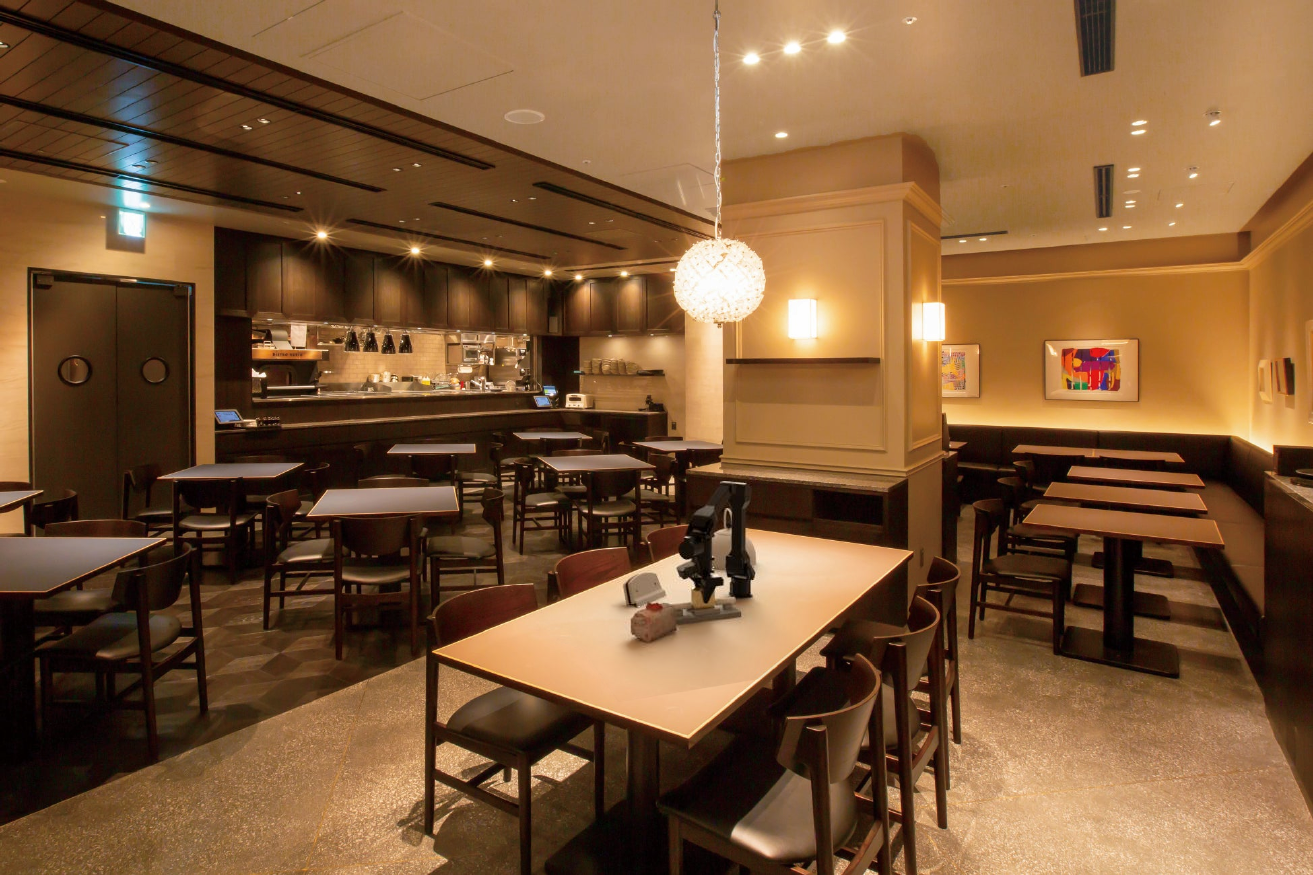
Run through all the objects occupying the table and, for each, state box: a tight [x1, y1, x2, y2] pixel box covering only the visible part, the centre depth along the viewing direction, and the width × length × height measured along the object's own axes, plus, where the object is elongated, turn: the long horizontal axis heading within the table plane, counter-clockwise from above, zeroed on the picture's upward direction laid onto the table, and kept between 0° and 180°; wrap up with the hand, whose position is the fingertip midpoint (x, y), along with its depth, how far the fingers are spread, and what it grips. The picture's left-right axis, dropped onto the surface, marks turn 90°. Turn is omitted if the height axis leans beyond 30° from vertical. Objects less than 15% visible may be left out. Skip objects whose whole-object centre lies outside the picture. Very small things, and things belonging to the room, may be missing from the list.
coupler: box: [690, 587, 716, 610], centre depth 224 cm, size 6×4×6 cm, turn 110°
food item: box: [630, 602, 677, 643], centre depth 206 cm, size 14×8×10 cm, turn 139°
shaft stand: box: [669, 596, 742, 625], centre depth 224 cm, size 22×10×5 cm, turn 110°
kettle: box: [712, 508, 757, 570], centre depth 291 cm, size 25×23×23 cm
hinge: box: [622, 572, 667, 607], centre depth 241 cm, size 17×5×10 cm, turn 144°
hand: (703, 601), depth 224 cm, fingers open, 4 cm apart
